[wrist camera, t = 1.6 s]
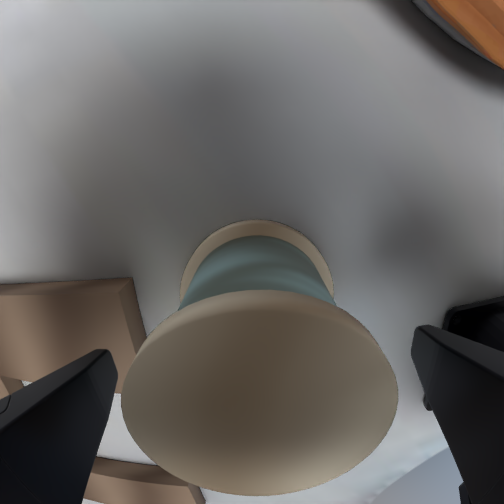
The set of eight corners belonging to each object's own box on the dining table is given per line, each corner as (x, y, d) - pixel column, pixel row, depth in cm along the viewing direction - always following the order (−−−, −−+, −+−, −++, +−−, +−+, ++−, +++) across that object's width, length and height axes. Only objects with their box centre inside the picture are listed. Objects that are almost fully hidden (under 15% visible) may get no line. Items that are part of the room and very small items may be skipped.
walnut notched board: (132, 277, 12) (50, 372, 6) (205, 501, 18) (197, 573, 11) (-73, 287, 13) (-130, 325, 7) (21, 464, 18) (-5, 510, 12)
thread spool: (327, 214, 12) (419, 292, 5) (327, 345, 13) (373, 480, 6) (173, 226, 12) (83, 316, 5) (196, 355, 14) (162, 492, 7)
